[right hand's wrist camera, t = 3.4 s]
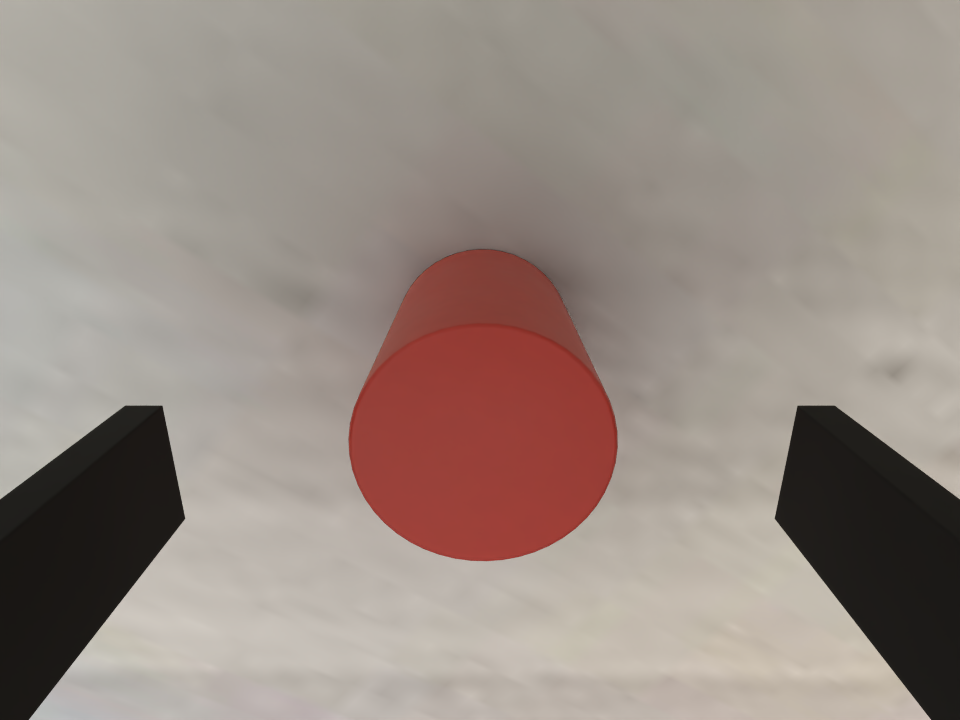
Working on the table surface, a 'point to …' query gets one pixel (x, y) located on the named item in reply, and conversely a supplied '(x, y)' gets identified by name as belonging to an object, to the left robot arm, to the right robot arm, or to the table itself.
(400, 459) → the canister
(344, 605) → the table surface
